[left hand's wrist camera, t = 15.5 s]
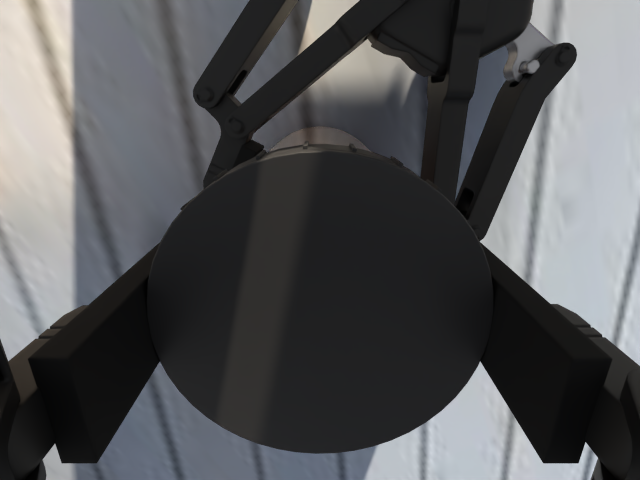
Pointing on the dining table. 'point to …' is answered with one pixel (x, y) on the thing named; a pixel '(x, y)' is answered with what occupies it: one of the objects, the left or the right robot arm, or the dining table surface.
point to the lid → (320, 299)
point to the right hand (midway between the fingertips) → (284, 284)
